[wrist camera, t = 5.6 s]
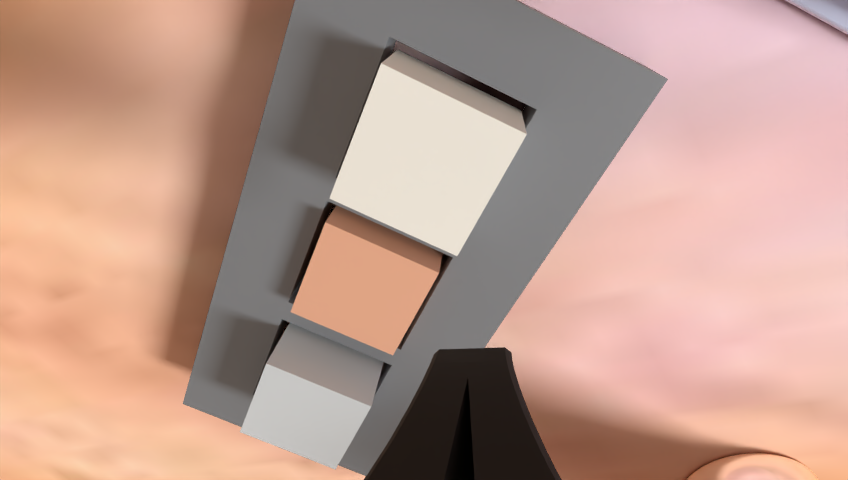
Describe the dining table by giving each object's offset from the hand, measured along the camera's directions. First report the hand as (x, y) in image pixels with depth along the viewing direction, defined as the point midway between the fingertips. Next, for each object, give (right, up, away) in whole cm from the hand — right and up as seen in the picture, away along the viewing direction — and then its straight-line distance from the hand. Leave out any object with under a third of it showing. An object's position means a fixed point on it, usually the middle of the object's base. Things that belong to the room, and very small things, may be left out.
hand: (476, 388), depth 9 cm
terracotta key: (-3, +2, +10) cm, 10 cm away
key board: (-3, +2, +10) cm, 11 cm away
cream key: (-1, +6, +6) cm, 8 cm away
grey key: (-5, -3, +11) cm, 13 cm away
